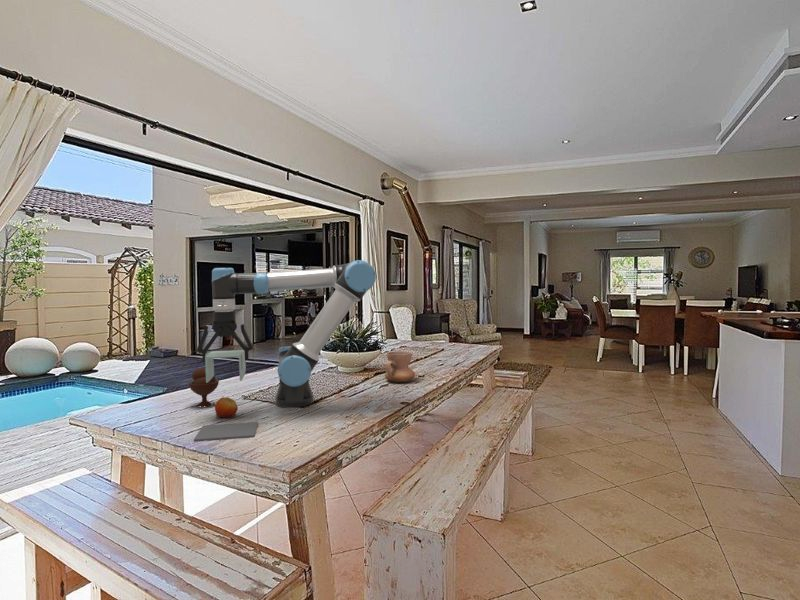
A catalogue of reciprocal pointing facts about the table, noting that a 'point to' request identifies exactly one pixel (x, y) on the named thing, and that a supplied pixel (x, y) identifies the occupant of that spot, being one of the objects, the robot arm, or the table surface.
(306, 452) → the table surface
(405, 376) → the ceramic jug
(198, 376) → the ice cream bowl
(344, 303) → the robot arm
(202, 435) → the mat
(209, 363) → the cover
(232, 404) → the fruit
